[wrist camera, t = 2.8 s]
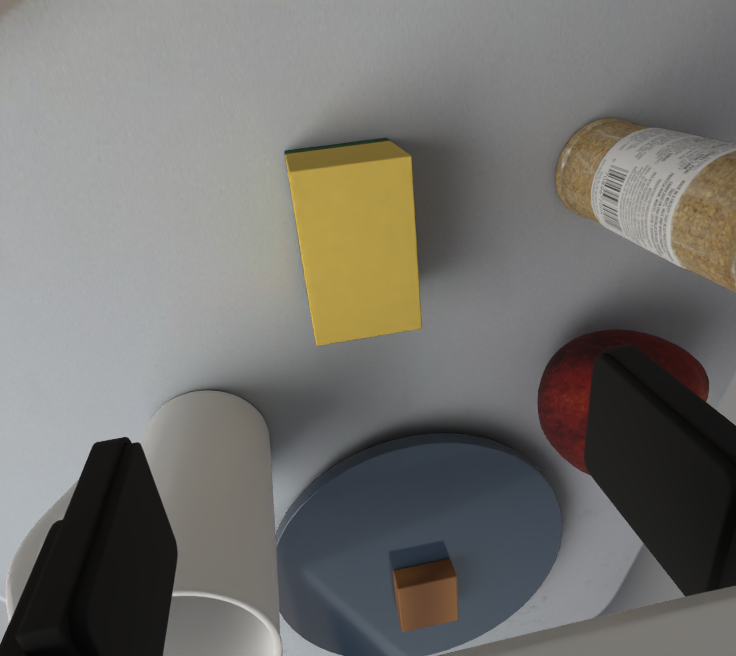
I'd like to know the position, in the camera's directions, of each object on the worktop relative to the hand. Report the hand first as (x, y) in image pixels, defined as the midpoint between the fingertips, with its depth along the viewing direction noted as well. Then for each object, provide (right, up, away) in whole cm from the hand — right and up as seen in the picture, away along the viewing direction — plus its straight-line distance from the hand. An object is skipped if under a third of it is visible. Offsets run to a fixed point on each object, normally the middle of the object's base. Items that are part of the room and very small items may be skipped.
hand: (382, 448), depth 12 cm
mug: (-10, -3, +18) cm, 21 cm away
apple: (+11, 0, +20) cm, 23 cm away
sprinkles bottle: (+10, +10, +15) cm, 21 cm away
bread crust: (+3, -14, +23) cm, 27 cm away
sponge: (-1, +7, +14) cm, 16 cm away
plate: (+3, -11, +24) cm, 26 cm away
